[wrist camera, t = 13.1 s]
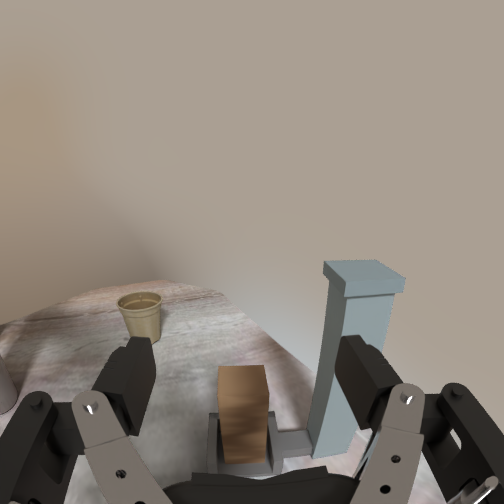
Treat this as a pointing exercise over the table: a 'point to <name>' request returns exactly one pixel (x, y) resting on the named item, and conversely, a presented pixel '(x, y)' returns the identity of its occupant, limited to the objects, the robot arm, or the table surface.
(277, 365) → the table surface
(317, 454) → the tall capped pillar
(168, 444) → the table surface
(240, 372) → the tall brown wooden block
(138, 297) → the flower pot
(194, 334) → the table surface
